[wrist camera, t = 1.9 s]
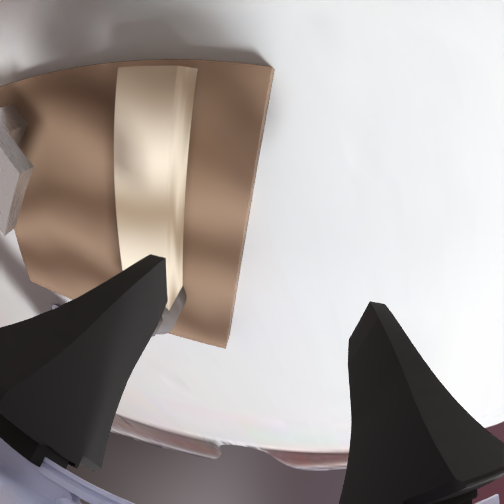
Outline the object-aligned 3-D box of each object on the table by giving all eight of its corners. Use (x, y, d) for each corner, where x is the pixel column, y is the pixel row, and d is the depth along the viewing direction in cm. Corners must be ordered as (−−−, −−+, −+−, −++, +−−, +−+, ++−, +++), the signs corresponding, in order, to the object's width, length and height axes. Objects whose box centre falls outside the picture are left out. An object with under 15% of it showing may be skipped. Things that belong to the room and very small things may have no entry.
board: (229, 335, 24) (225, 348, 22) (38, 273, 25) (30, 281, 23) (274, 69, 13) (271, 67, 11) (11, 84, 14) (-2, 87, 12)
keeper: (70, 149, 15) (19, 173, 11) (45, 205, 18) (4, 235, 14) (18, 88, 13) (-29, 101, 9) (-1, 146, 15) (-41, 166, 11)
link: (186, 315, 20) (170, 350, 17) (143, 302, 21) (122, 335, 18) (203, 68, 12) (174, 64, 9) (139, 68, 12) (100, 68, 9)
